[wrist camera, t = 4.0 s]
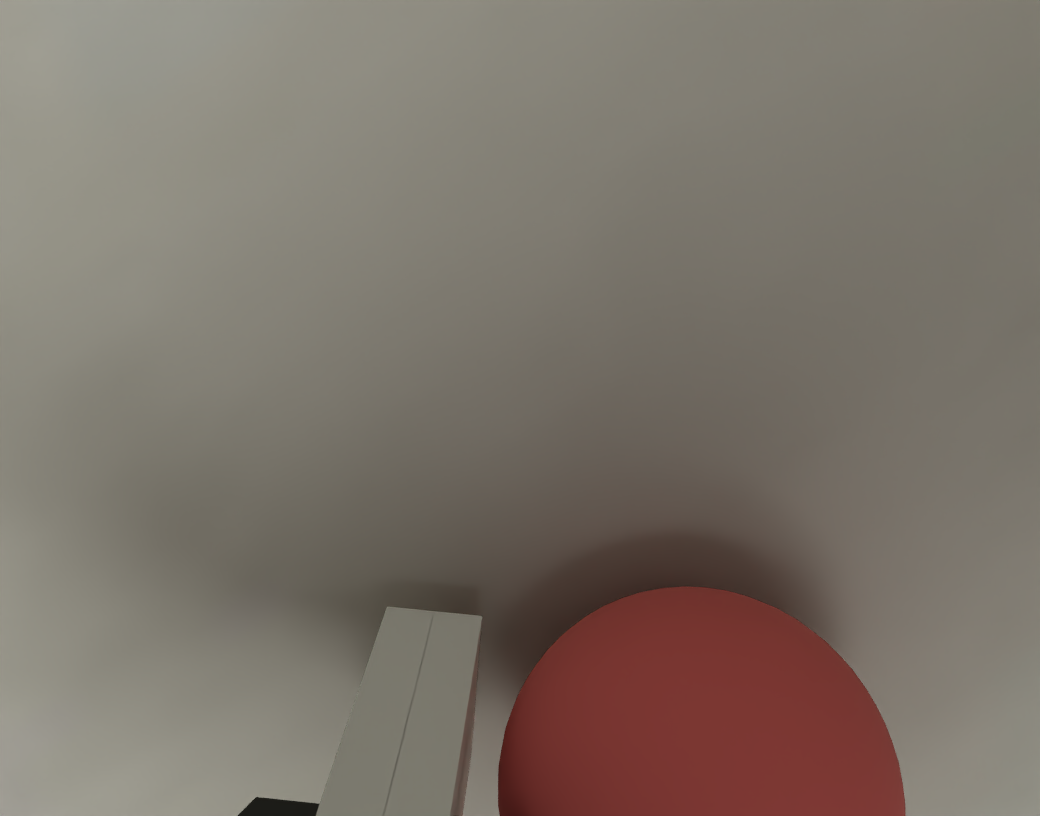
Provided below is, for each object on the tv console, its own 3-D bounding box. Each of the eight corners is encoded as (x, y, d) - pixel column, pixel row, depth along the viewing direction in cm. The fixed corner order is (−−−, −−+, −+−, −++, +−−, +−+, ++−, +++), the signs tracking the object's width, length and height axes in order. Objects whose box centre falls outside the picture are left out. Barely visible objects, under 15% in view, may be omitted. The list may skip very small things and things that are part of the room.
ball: (871, 537, 14) (1042, 801, 9) (802, 807, 16) (912, 1149, 11) (523, 503, 14) (502, 748, 9) (496, 777, 16) (467, 1103, 11)
